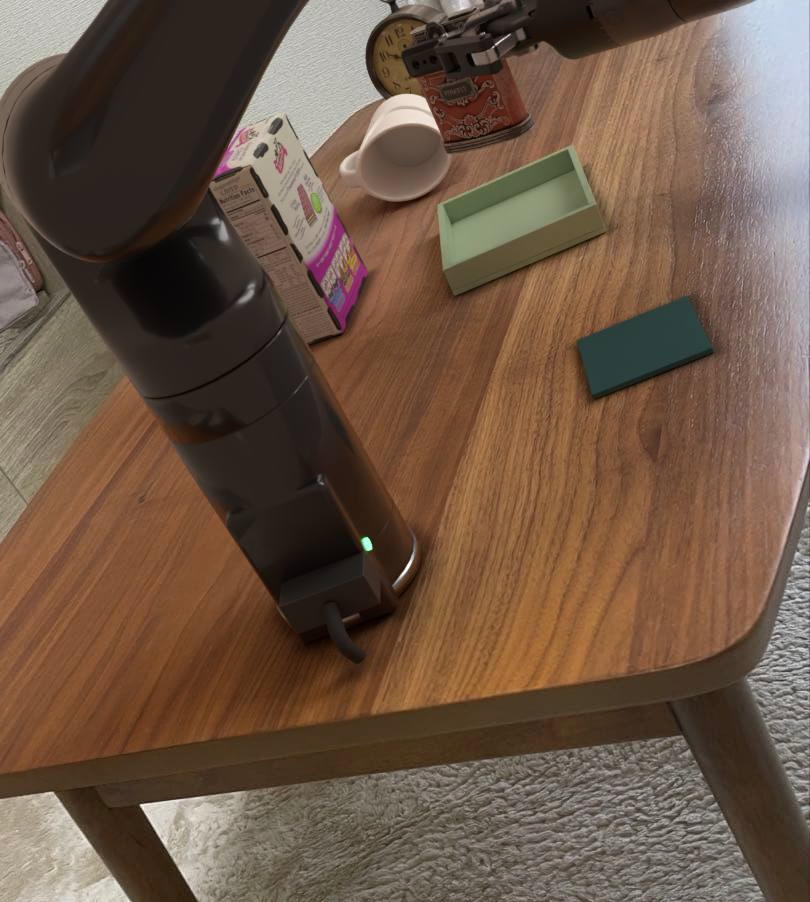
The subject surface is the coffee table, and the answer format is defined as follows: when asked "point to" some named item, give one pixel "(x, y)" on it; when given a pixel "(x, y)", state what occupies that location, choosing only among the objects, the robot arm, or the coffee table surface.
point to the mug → (399, 152)
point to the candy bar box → (290, 225)
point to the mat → (643, 347)
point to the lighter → (471, 98)
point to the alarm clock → (395, 49)
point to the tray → (516, 220)
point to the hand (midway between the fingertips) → (419, 52)
